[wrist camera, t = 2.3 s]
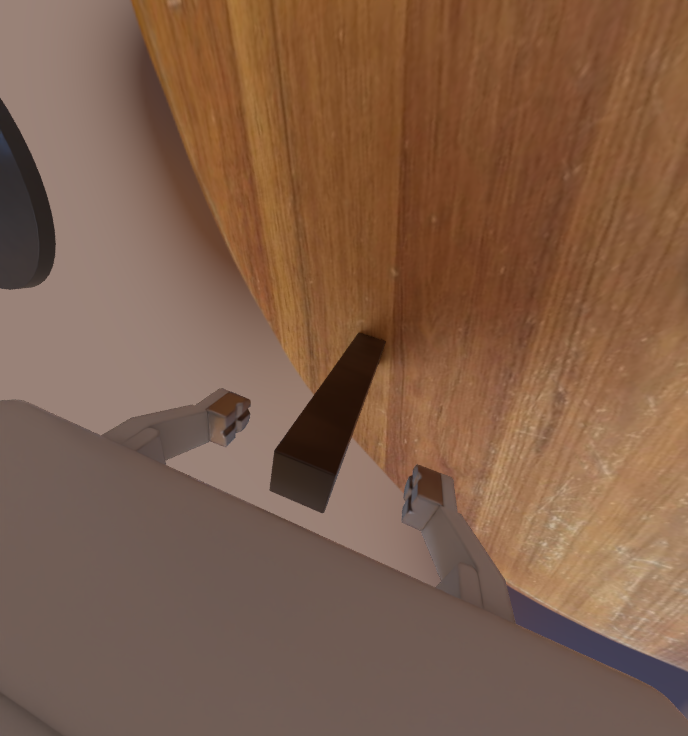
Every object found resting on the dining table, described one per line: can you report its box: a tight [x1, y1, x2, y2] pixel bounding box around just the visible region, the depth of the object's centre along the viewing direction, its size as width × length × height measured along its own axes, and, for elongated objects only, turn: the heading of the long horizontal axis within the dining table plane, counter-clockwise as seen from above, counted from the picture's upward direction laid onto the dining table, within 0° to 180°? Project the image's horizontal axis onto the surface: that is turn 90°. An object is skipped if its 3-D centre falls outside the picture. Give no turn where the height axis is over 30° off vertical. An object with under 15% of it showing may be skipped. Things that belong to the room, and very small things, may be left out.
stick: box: [270, 333, 386, 513], centre depth 15 cm, size 2×2×14 cm
